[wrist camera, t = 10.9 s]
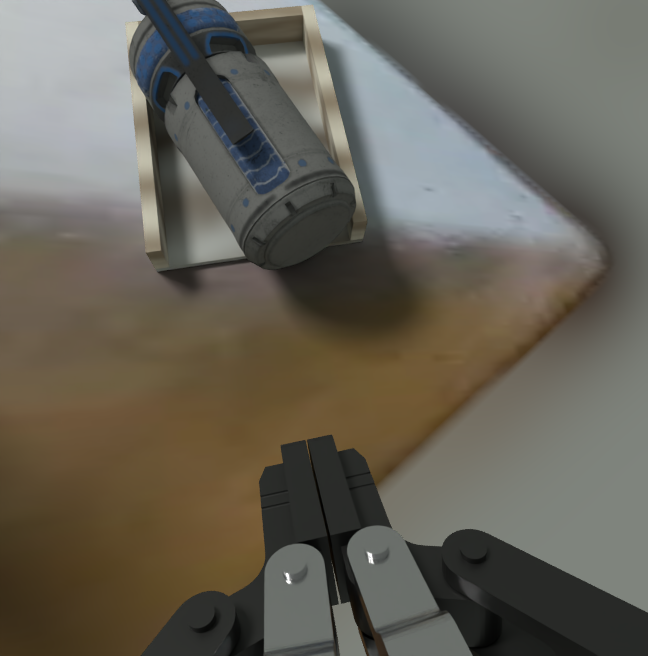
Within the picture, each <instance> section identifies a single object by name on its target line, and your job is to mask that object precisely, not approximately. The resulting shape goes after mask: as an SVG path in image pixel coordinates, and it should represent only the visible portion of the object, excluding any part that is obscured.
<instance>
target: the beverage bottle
mask: <svg viewBox="0 0 648 656" xmlns="http://www.w3.org/2000/svg"><path fill="white" fill-rule="evenodd" d="M132 1H133V3H134V4H135V6H136V7H137V9H138V10H139V12H140V13H141V14H143V15H146V16H145V18H144V19H143V20H142V21H141V23H140V24H139V25H138V27H137V29H136V31H135V33H134V35H133V37H132V41H131V44H130V49H129V63H130V68H131V71H132V74H133V76H134V78H135V79H136V81H137V83H138V86H139V87H140V89H141V91H142V92H143V94H144V95H145V97H146V99H147V100H148V102H149V103H150V105H151V106H152V108H153V110H154V111H155V113H156V114H157V116H158V117H159V118H160V119H161V120H162V121H163V122H164V123H165V126H166V129H167V132H168V134H169V135H170V137H171V139H172V140H173V142H174V143H175V145H176V146H177V148H178V149H179V151H180V152H181V153H182V154H183V156H184V157H185V159H186V160H187V162H188V164H189V165H190V167H191V168H192V170H193V171H194V173H195V175H196V176H197V178H198V179H199V181H200V183H201V184H202V186H203V187H204V189H205V191H206V192H207V194H208V195H209V197H210V198H211V200H212V202H213V203H214V205H215V206H216V208H217V210H218V211H219V213H220V214H221V216H222V218H223V219H224V221H225V222H226V224H227V225H228V227H229V229H230V230H231V232H232V233H233V235H234V237H235V239H236V241H237V243H238V245H239V247H240V248H241V250H242V251H243V253H244V255H245V256H246V258H247V259H248V260H249V261H251V262H252V263H254V264H256V265H258V266H260V267H261V268H263V269H268V270H275V269H281V268H283V267H288V266H291V265H295V264H298V263H300V262H302V261H304V260H306V259H308V258H310V257H312V256H313V255H315V254H317V253H318V252H320V251H321V250H322V249H324V248H325V247H326V246H328V245H329V244H330V243H331V242H332V241H333V240H334V239H335V238H336V237H337V236H338V235H339V234H340V233H341V232H342V231H343V229H344V228H345V227H346V225H347V223H349V221H350V220H351V218H352V216H353V214H354V212H355V209H356V198H355V189H354V186H353V184H352V183H351V181H350V180H349V178H348V177H347V176H346V174H345V173H344V171H343V170H342V169H341V168H340V167H339V166H338V165H337V163H336V162H335V161H334V159H333V158H332V157H331V155H330V154H329V152H328V151H327V150H326V148H325V147H324V145H323V144H322V143H321V141H320V140H319V138H318V137H317V136H316V134H315V133H314V132H313V130H312V129H311V127H310V126H309V125H308V123H307V122H306V120H305V119H304V118H303V116H302V115H301V113H300V112H299V111H298V109H297V108H296V106H295V105H294V104H293V102H292V101H291V99H290V98H289V97H288V95H287V94H286V92H285V91H284V90H283V88H282V87H281V86H280V84H279V82H278V80H277V79H276V77H275V75H274V74H273V73H272V71H271V70H270V68H269V67H268V66H267V64H266V63H265V62H264V61H263V60H262V59H261V58H259V57H258V56H257V55H256V51H255V49H254V47H253V46H252V44H251V42H250V41H249V40H248V38H247V37H246V35H245V34H244V33H243V31H242V30H241V28H240V27H239V26H238V24H237V23H236V21H235V20H234V18H233V17H232V16H231V15H230V14H229V13H228V12H227V11H226V9H225V8H224V7H223V6H222V5H221V4H220V3H219V2H217V1H215V0H132Z"/></svg>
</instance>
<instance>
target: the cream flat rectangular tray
mask: <svg viewBox="0 0 648 656" xmlns="http://www.w3.org/2000/svg"><path fill="white" fill-rule="evenodd" d="M229 14H230V15H231V16H232V17H233V18H234V20H235V21H236V23H237V24H238V26H239V27H240V28H241V30H242V31H243V33H244V34H245V35H246V37H247V38H248V40H249V41H250V42H251V44H252V46H253V47H254V49H255V51H256V55H257V56H258V57H259V58H261V59H262V60H263V61H264V62H265V63H266V64H267V66H268V67H269V68H270V70H271V71H272V73H273V74H274V75H275V77H276V79H277V80H278V82H279V84H280V86H281V87H282V88H283V90H284V91H285V92H286V94H287V95H288V97H289V98H290V99H291V101H292V102H293V104H294V105H295V106H296V108H297V109H298V111H299V112H300V113H301V115H302V116H303V118H304V119H305V120H306V122H307V123H308V125H309V126H310V127H311V129H312V130H313V132H314V133H315V134H316V136H317V137H318V138H319V140H320V141H321V143H322V144H323V145H324V147H325V148H326V150H327V151H328V152H329V154H330V155H331V157H332V158H333V159H334V161H335V162H336V163H337V165H338V166H339V167H340V168H341V169H342V170H343V171H344V173H345V174H346V176H347V177H348V178H349V180H350V181H351V183H352V184H353V186H354V189H355V198H356V209H355V212H354V214H353V216H352V218H351V220H350V221H349V223H347V225H346V227H345V228H344V229H343V231H342V232H341V233H340V234H339V235H338V236H337V237H336V238H335V239H334V240H333V241H332V242H331V243H330V244H329V245H328V246H334V245H341V244H348V243H355V242H361V241H363V237H364V233H365V229H366V225H367V217H366V213H365V209H364V205H363V201H362V197H361V193H360V189H359V185H358V181H357V177H356V173H355V169H354V165H353V161H352V158H351V154H350V150H349V146H348V142H347V138H346V134H345V130H344V126H343V122H342V118H341V114H340V110H339V106H338V102H337V98H336V94H335V90H334V86H333V82H332V78H331V74H330V70H329V66H328V63H327V59H326V55H325V51H324V47H323V43H322V39H321V35H320V31H319V27H318V23H317V19H316V15H315V11H314V7H313V5H306V6H295V7H285V8H274V9H264V10H253V11H242V12H232V13H229ZM140 23H141V21H136V22H126V23H125V25H126V36H127V47H128V58H129V49H130V44H131V41H132V37H133V35H134V33H135V31H136V29H137V27H138V25H139V24H140ZM129 69H130V81H131V92H132V103H133V114H134V125H135V137H136V148H137V159H138V170H139V181H140V192H141V204H142V215H143V226H144V237H145V248H146V254H147V255H148V257H149V259H150V261H151V262H152V264H153V266H154V268H155V269H156V271H157V272H158V271H165V270H172V269H179V268H185V267H192V266H199V265H206V264H212V263H219V262H226V261H233V260H240V259H246V256H245V255H244V253H243V251H242V250H241V248H240V247H239V245H238V243H237V241H236V239H235V237H234V235H233V233H232V232H231V230H230V229H229V227H228V225H227V224H226V222H225V221H224V219H223V218H222V216H221V214H220V213H219V211H218V210H217V208H216V206H215V205H214V203H213V202H212V200H211V198H210V197H209V195H208V194H207V192H206V191H205V189H204V187H203V186H202V184H201V183H200V181H199V179H198V178H197V176H196V175H195V173H194V171H193V170H192V168H191V167H190V165H189V164H188V162H187V160H186V159H185V157H184V156H183V154H182V153H181V152H180V151H179V149H178V148H177V146H176V145H175V143H174V142H173V140H172V139H171V137H170V135H169V134H168V132H167V129H166V126H165V123H164V122H163V121H162V120H161V119H160V118H159V117H158V116H157V114H156V113H155V111H154V110H153V108H152V106H151V105H150V103H149V102H148V100H147V99H146V97H145V95H144V94H143V92H142V91H141V89H140V87H139V86H138V83H137V81H136V79H135V78H134V76H133V74H132V71H131V68H130V63H129ZM328 246H326V247H328Z"/></svg>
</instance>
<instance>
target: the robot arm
mask: <svg viewBox="0 0 648 656" xmlns="http://www.w3.org/2000/svg"><path fill="white" fill-rule="evenodd" d="M307 442H308V448H309V454H310V459H309V454H308V450H307V446H306V441H305V440H303V441H298V442H293V443H289V444H284V445H281V452H282V458H283V463H282V464H278V465H273V466H268V467H265V469H264V471H263V474H262V476H261V478H260V481H259V486H260V496H261V508H262V520H263V531H264V542H265V563H264V566H263V568H262V570H261V572H260V573H259V575H258V576H257V577H256V578H255V580H254V581H253V582H251V583H250V584H249V585H248V586H246V587H245V588H243V589H241V590H240V591H238V592H236V593H234V594H232V595H231V596H229V597H228V596H227V595H225V594H224V593H221V592H217V591H207V592H202V593H199V594H197V595H195V596H193V597H191V598H190V599H188V600H187V601H186V602H184V603H183V604H182V605H181V606H180V607H179V609H178V610H177V611H176V612H175V614H174V615H173V616H172V617H171V619H170V620H169V621H168V622H167V624H166V625H165V626H164V627H163V629H162V630H161V631H160V632H159V634H158V635H157V636H156V637H155V639H154V640H153V641H152V642H151V644H150V645H149V646H148V647H147V649H146V650H145V651H144V652H143V654H142V655H141V656H340V653H339V645H338V637H337V632H336V626H335V620H334V614H333V609H332V606H333V605H337V604H338V597H337V591H336V585H335V579H334V573H335V578H336V582H337V586H338V591H339V595H340V600H341V603H346V602H350V603H351V608H352V611H353V615H354V619H355V622H356V624H357V626H358V630H359V634H360V637H361V640H362V643H363V646H364V649H365V652H366V655H367V656H648V613H647V612H645V611H643V610H641V609H639V608H637V607H635V606H633V605H631V604H629V603H627V602H625V601H623V600H621V599H619V598H617V597H615V596H613V595H611V594H609V593H607V592H605V591H603V590H601V589H598V588H597V587H595V586H593V585H591V584H588V583H587V582H585V581H582V580H581V579H579V578H576V577H574V576H572V575H570V574H568V573H566V572H564V571H562V570H560V569H558V568H556V567H554V566H552V565H550V564H548V563H546V562H544V561H542V560H540V559H538V558H536V557H534V556H532V555H530V554H528V553H526V552H524V551H522V550H520V549H518V548H516V547H514V546H512V545H510V544H508V543H505V542H504V541H502V540H500V539H497V538H496V537H494V536H491V535H489V534H487V533H485V532H482V531H479V530H473V529H465V530H460V531H456V532H454V533H452V534H451V535H449V536H448V537H447V538H446V540H445V541H444V543H443V546H442V547H439V546H423V545H416V544H412V543H410V542H407V541H405V540H404V539H403V537H402V536H401V535H400V534H399V533H398V532H397V531H395V530H393V529H392V527H391V525H390V523H389V520H388V517H387V515H386V512H385V509H384V507H383V504H382V502H381V499H380V496H379V494H378V491H377V488H376V486H375V484H374V481H373V478H372V475H371V474H370V470H369V468H368V465H367V462H366V460H365V458H364V457H363V456H362V455H360V454H359V453H358V452H357V451H356V450H355V449H354V448H353V449H348V450H344V451H339V452H337V449H336V446H335V442H334V439H333V436H332V435H327V436H322V437H318V438H313V439H308V440H307ZM310 460H311V463H310ZM311 466H312V467H311ZM312 471H313V472H312ZM331 560H332V561H331ZM332 564H333V567H332ZM333 568H334V573H333Z"/></svg>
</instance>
